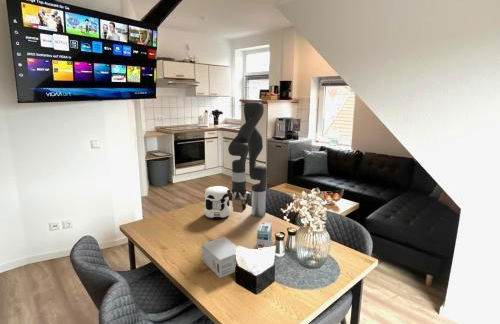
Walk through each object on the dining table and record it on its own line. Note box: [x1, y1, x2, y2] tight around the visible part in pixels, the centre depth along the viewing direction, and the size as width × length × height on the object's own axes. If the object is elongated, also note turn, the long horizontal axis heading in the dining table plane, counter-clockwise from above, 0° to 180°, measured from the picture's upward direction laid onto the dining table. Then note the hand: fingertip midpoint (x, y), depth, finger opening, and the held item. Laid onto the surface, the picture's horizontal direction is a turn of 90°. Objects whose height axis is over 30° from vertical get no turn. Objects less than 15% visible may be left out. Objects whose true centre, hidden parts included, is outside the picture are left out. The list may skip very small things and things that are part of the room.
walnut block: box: [232, 197, 245, 213], centre depth 159 cm, size 5×5×7 cm
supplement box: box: [201, 236, 239, 279], centre depth 137 cm, size 17×13×9 cm
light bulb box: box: [256, 221, 273, 249], centre depth 155 cm, size 11×7×11 cm, turn 168°
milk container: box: [203, 185, 232, 220], centre depth 191 cm, size 17×17×18 cm
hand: (239, 208), depth 160 cm, fingers closed on walnut block, 5 cm apart
